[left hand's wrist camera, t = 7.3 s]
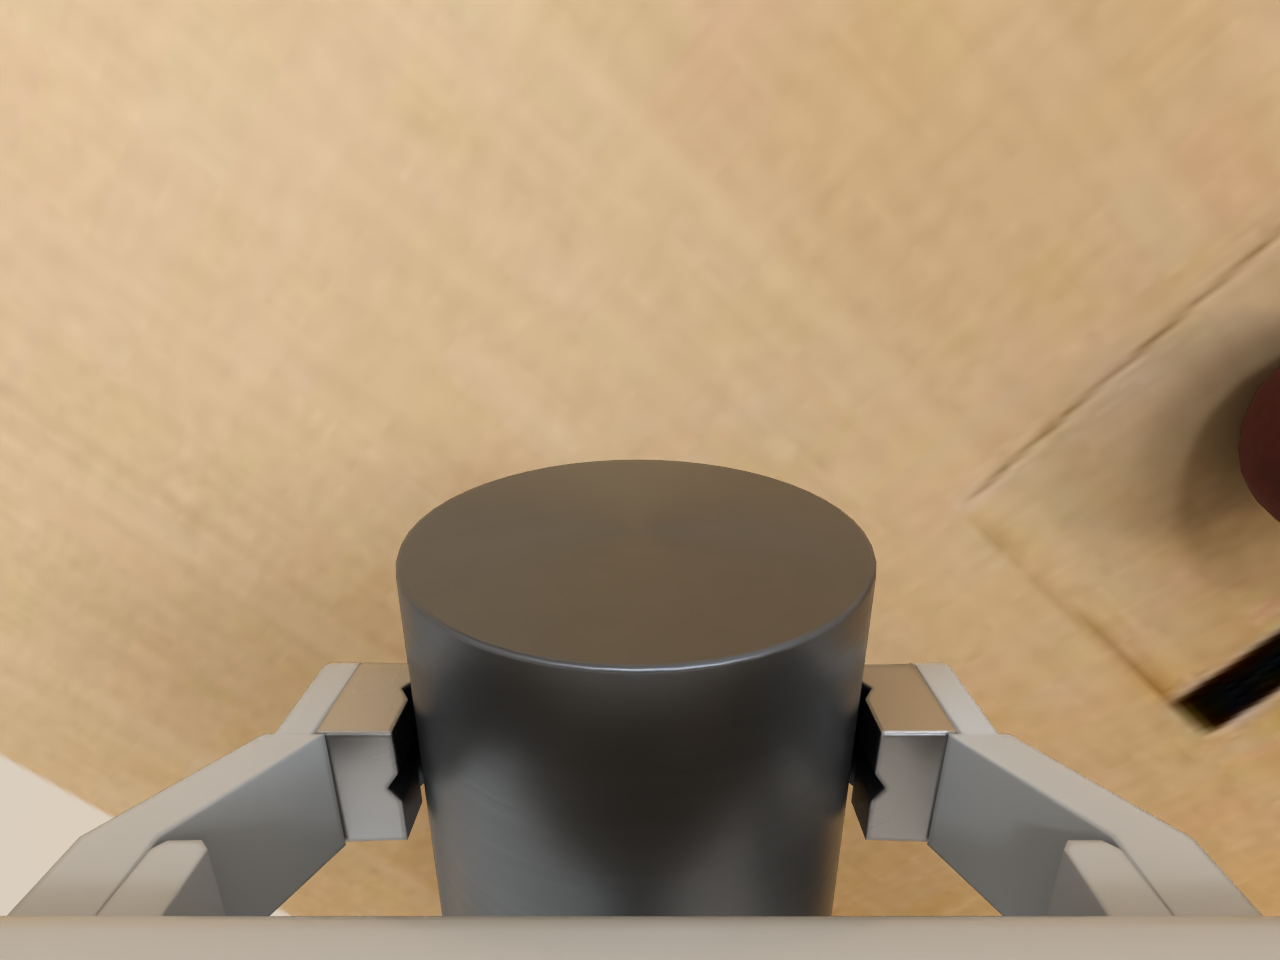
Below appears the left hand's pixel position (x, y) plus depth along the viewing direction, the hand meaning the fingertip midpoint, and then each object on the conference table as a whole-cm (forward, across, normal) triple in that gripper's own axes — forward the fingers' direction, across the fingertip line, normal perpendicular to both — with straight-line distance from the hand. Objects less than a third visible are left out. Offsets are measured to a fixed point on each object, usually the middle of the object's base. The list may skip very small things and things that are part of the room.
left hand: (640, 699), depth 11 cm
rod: (+3, 0, -9) cm, 9 cm away
